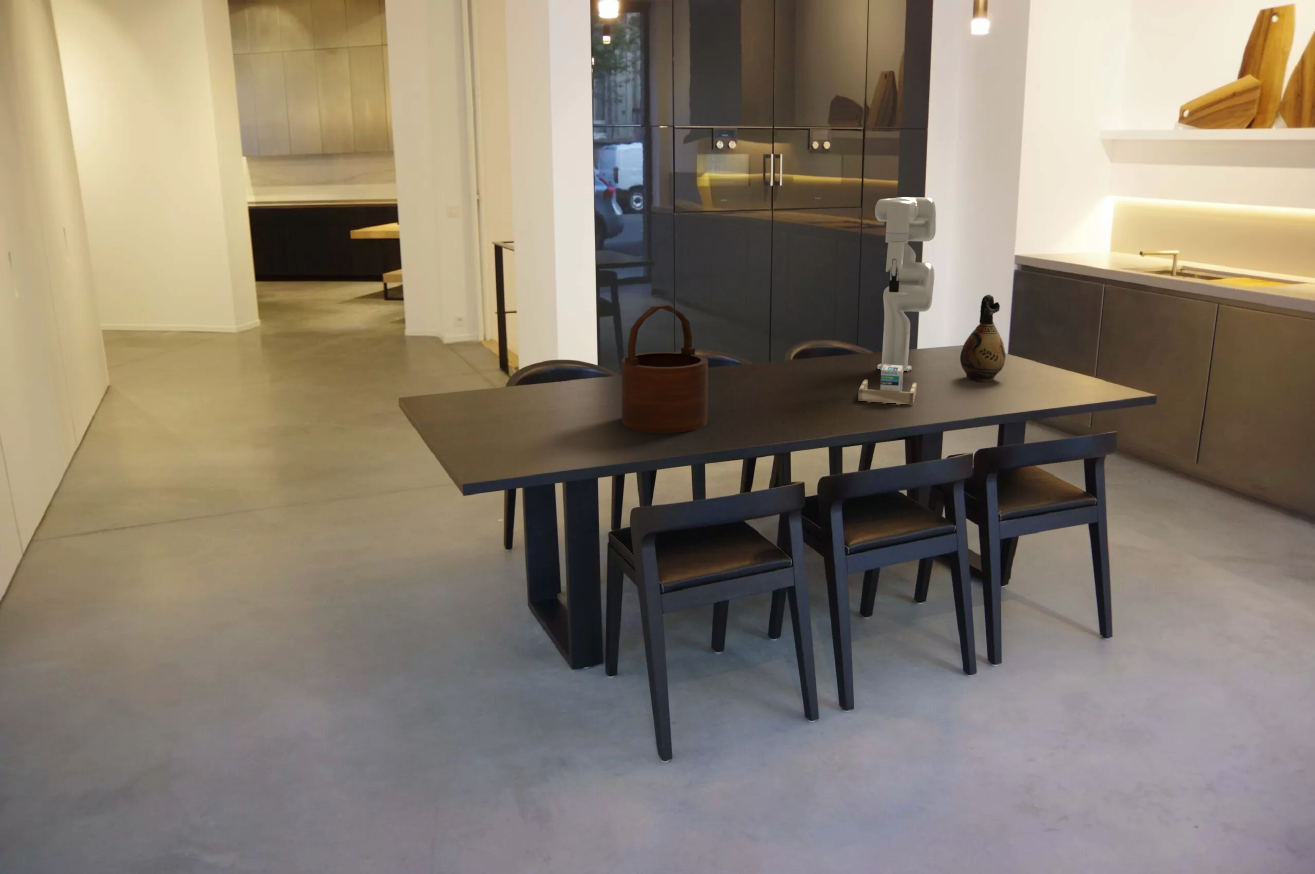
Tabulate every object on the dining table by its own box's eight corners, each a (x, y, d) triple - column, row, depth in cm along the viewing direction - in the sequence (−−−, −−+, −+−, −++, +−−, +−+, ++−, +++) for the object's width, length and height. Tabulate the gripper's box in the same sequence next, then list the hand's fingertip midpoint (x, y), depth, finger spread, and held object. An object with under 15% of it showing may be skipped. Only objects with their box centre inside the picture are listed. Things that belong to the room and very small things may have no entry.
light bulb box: (900, 403, 332) (902, 371, 329) (878, 402, 334) (880, 370, 331) (902, 396, 342) (904, 364, 339) (881, 395, 344) (883, 363, 341)
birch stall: (863, 391, 349) (864, 379, 348) (916, 394, 344) (916, 382, 343) (858, 401, 334) (858, 389, 333) (912, 405, 329) (913, 393, 328)
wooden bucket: (725, 422, 308) (727, 306, 299) (664, 438, 291) (664, 316, 282) (665, 408, 326) (665, 298, 317) (604, 422, 309) (602, 306, 299)
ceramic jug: (1009, 384, 360) (1017, 299, 353) (965, 383, 361) (972, 298, 353) (994, 374, 377) (1002, 292, 369) (952, 373, 377) (959, 292, 369)
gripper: (887, 236, 357) (884, 289, 362) (883, 239, 343) (880, 294, 348) (909, 236, 355) (906, 289, 359) (906, 240, 341) (903, 295, 346)
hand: (893, 292), depth 354 cm, fingers closed
